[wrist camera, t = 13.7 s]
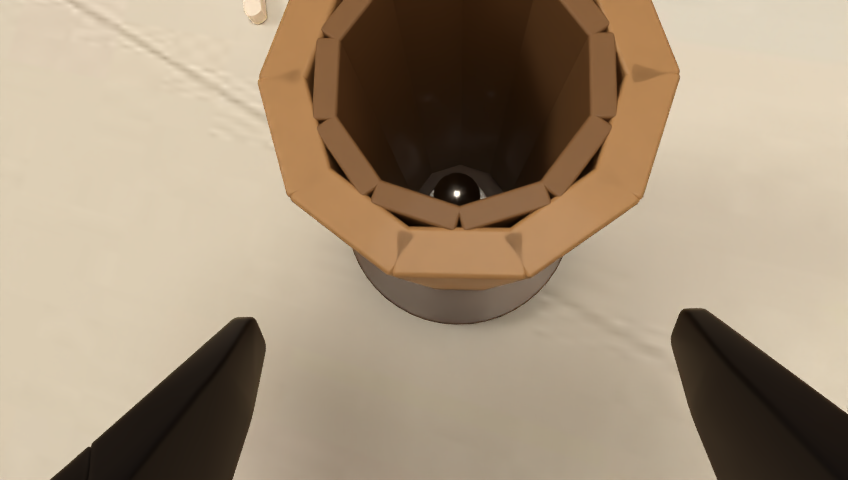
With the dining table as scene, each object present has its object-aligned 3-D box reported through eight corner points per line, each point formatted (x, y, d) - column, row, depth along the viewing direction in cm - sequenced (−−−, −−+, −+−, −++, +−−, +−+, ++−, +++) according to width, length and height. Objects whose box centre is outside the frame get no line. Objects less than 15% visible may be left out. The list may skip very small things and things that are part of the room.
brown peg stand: (551, 339, 21) (580, 353, 16) (336, 304, 22) (299, 307, 17) (577, 126, 22) (612, 76, 17) (371, 102, 23) (346, 47, 18)
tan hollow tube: (478, 323, 20) (513, 373, 7) (352, 226, 21) (180, 115, 8) (572, 199, 20) (764, 32, 8) (442, 108, 21) (416, -177, 8)
